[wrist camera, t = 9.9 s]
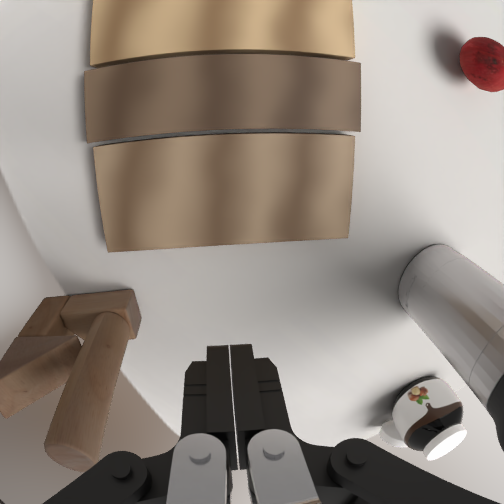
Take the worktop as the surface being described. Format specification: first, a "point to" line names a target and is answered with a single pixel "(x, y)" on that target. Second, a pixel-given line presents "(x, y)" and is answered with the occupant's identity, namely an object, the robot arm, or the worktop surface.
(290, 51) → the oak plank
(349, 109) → the mating board
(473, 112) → the worktop surface
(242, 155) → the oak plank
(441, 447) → the spread jar
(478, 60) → the onion
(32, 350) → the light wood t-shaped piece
